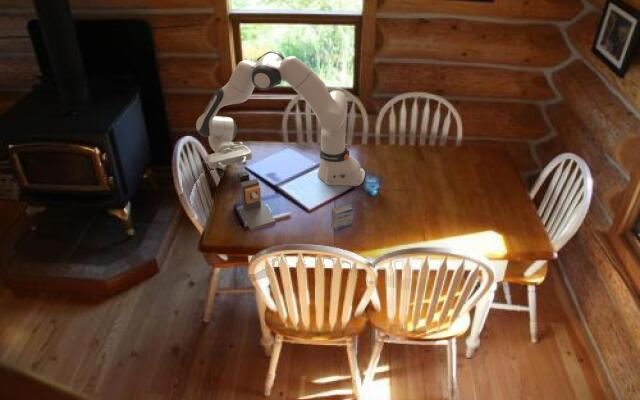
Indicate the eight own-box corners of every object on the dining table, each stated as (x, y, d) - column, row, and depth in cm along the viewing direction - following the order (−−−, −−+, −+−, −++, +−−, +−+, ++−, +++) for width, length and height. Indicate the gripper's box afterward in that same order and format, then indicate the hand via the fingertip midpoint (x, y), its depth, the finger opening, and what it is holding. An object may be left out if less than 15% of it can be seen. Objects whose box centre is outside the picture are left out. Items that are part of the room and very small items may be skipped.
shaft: (239, 184, 227) (237, 173, 223) (247, 182, 228) (246, 171, 225) (252, 205, 215) (251, 193, 211) (261, 202, 216) (260, 191, 213)
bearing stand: (237, 209, 226) (234, 182, 217) (261, 202, 230) (259, 175, 221) (250, 231, 214) (247, 202, 205) (275, 223, 218) (273, 195, 209)
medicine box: (336, 230, 214) (336, 214, 209) (330, 224, 218) (331, 208, 212) (352, 225, 217) (353, 208, 212) (347, 219, 221) (347, 202, 215)
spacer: (245, 201, 219) (244, 188, 215) (259, 197, 221) (258, 184, 217) (247, 203, 217) (246, 191, 214) (261, 200, 220) (260, 187, 216)
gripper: (202, 151, 238) (211, 165, 228) (245, 140, 245) (255, 154, 235) (204, 162, 241) (213, 177, 231) (246, 152, 249) (256, 166, 239)
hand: (235, 166), depth 233 cm, fingers open, 8 cm apart
